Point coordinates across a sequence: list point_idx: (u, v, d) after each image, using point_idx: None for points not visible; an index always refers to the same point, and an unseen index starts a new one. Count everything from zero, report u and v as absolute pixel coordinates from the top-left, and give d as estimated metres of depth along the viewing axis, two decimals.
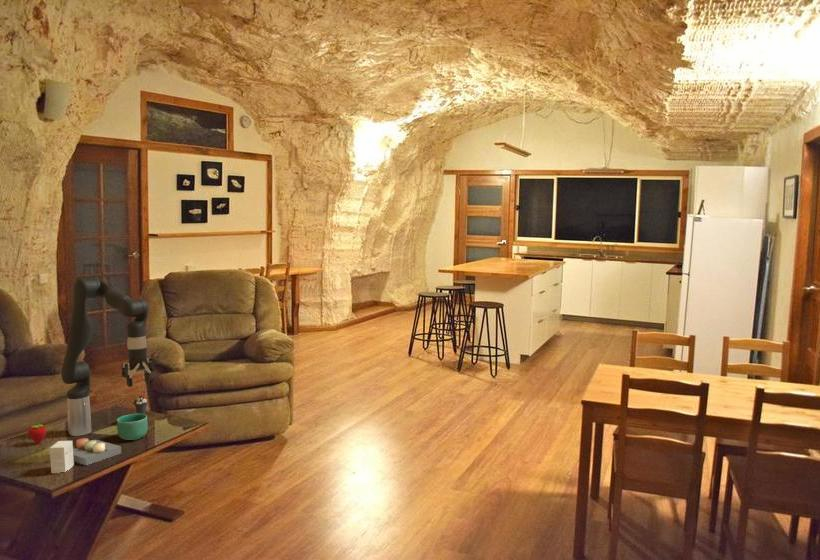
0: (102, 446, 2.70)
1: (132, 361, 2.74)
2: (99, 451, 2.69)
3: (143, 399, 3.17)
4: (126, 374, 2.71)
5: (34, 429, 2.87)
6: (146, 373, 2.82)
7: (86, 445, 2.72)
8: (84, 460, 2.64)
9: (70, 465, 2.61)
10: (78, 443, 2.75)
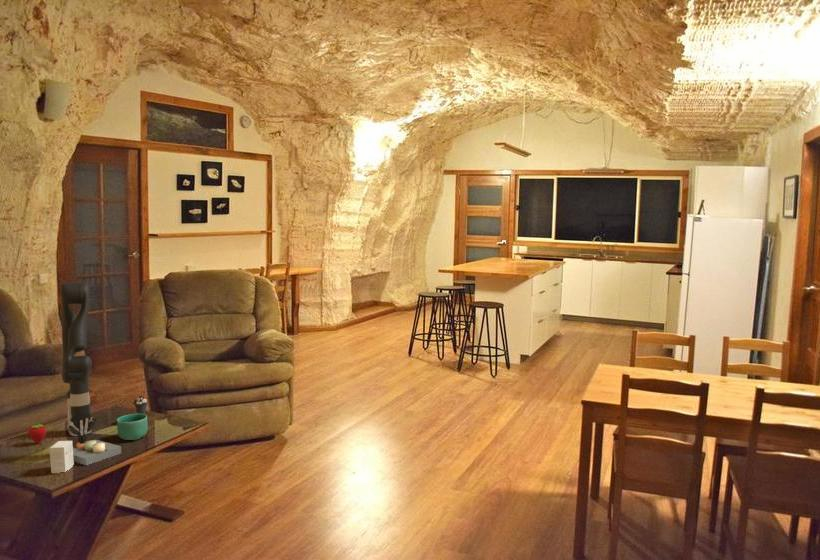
0: (102, 446, 2.70)
1: (75, 418, 2.72)
2: (99, 451, 2.69)
3: (143, 399, 3.17)
4: (76, 432, 2.73)
5: (34, 429, 2.87)
6: None
7: (86, 445, 2.72)
8: (84, 460, 2.64)
9: (70, 465, 2.61)
10: (78, 446, 2.75)
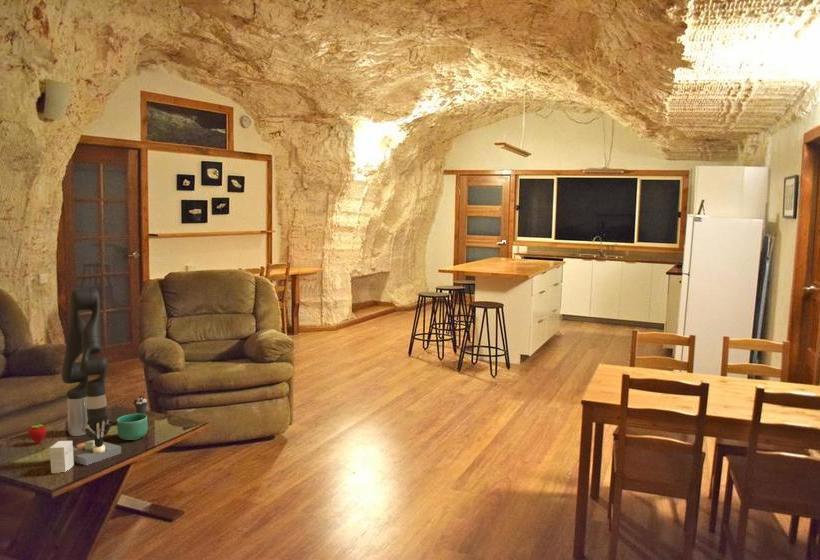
0: (102, 448, 2.70)
1: (91, 421, 2.67)
2: None
3: (143, 399, 3.17)
4: (92, 436, 2.67)
5: (34, 429, 2.87)
6: None
7: (86, 445, 2.72)
8: (84, 460, 2.64)
9: (70, 465, 2.61)
10: (78, 448, 2.75)
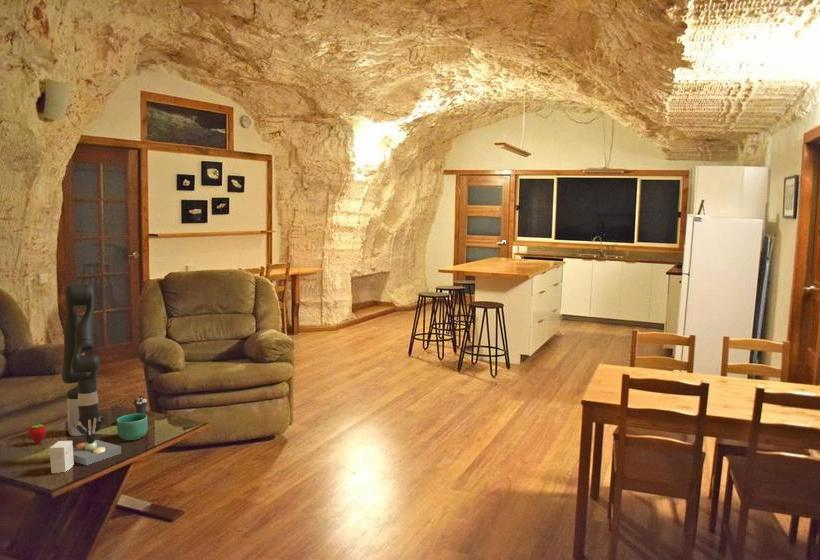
0: (102, 451, 2.70)
1: (83, 417, 2.70)
2: None
3: (143, 399, 3.17)
4: (84, 432, 2.70)
5: (34, 429, 2.87)
6: None
7: (86, 446, 2.72)
8: (84, 460, 2.64)
9: (70, 465, 2.61)
10: (78, 448, 2.75)
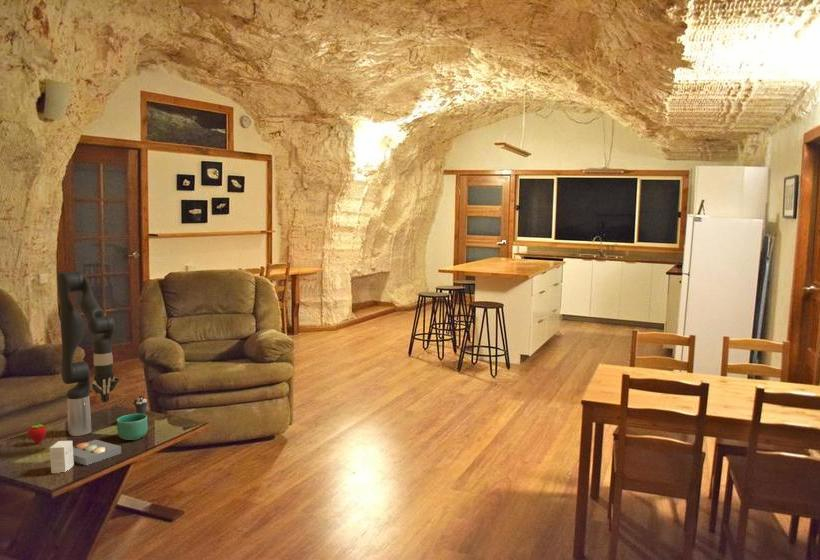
0: (102, 451, 2.70)
1: (98, 377, 2.79)
2: None
3: (143, 399, 3.17)
4: (99, 391, 2.80)
5: (34, 429, 2.87)
6: None
7: (86, 450, 2.72)
8: (84, 460, 2.64)
9: (70, 465, 2.61)
10: (78, 448, 2.75)
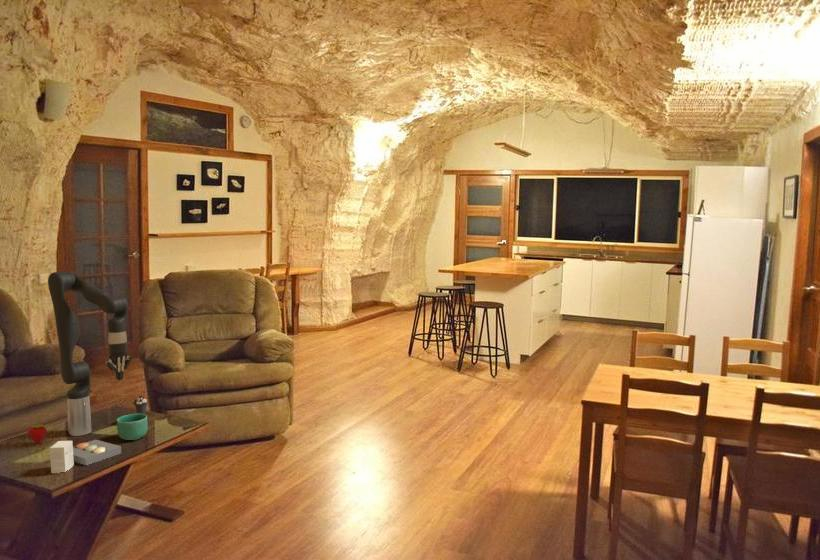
0: (102, 451, 2.70)
1: (113, 355, 2.89)
2: None
3: (143, 399, 3.17)
4: (114, 369, 2.89)
5: (34, 429, 2.87)
6: None
7: (86, 450, 2.72)
8: (84, 460, 2.64)
9: (70, 465, 2.61)
10: (78, 448, 2.75)
